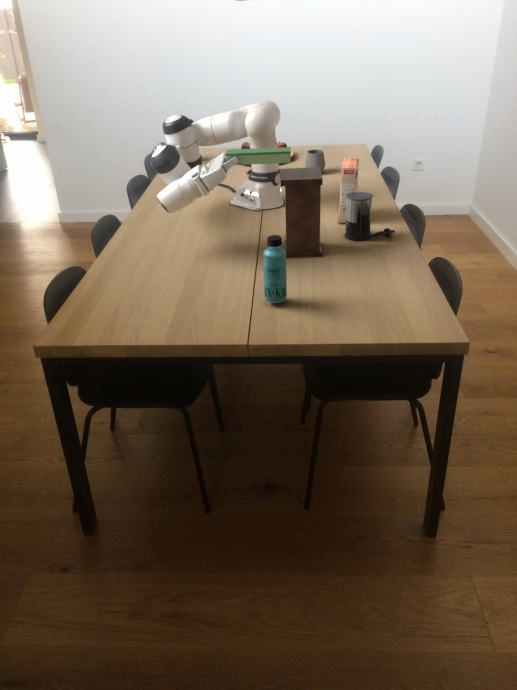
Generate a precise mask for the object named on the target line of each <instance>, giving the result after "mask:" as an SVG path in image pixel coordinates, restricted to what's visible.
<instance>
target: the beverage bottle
mask: <svg viewBox="0 0 517 690" xmlns="http://www.w3.org/2000/svg"><path fill="white" fill-rule="evenodd" d="M266 245H267V246H268V247H266V248H265V249H264V251H263V270H262V271H263V289H264V299H265V301H267V302H268V303H272V304H279V303H282V302H284V301H286V300H287V297H288V296H287V295H288V290H287V289H288V288H287V285H288V284H287V283H288V282H287V281H288V279H287V273H288V271H287V258H286V251H285V250H284V247H282V246H283V237H282V236H281V235H279V234H272V235H269V236H267V241H266Z"/></svg>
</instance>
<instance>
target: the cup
mask: <svg viewBox="0 0 517 690" xmlns="http://www.w3.org/2000/svg"><path fill="white" fill-rule="evenodd" d="M305 157H306V158H305V168H312V167H320V170H321V174H322V173H323V172H324V170H325V167H326V159H325V152H324V150H322V149H309V150H307V152H306V156H305Z"/></svg>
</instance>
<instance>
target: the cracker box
mask: <svg viewBox="0 0 517 690" xmlns="http://www.w3.org/2000/svg"><path fill="white" fill-rule="evenodd" d="M359 163H360V158H358V157H357V158H356V157H344V158H343V161H342V165H341V167H340V168H341V169H340V189H339V208H338V209H339V211H338V212H339V213H338V224H346V205H347V197H346V194H348V193H350V192H358V184H359V169H360V168H359V167H360V164H359Z"/></svg>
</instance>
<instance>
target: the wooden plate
mask: <svg viewBox="0 0 517 690" xmlns="http://www.w3.org/2000/svg"><path fill="white" fill-rule="evenodd" d="M277 146H278V148H282V147H288V145H287V144H286V142H281V141H278V142H277ZM240 149H250V145H249V141H244V142H243V143H242V144H241V148H240ZM294 157H295V152H294V151H293V150H291V160H293V159H294ZM281 164H282V163H279V165H281ZM248 166H250V167H251V164H249V165H248Z"/></svg>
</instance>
